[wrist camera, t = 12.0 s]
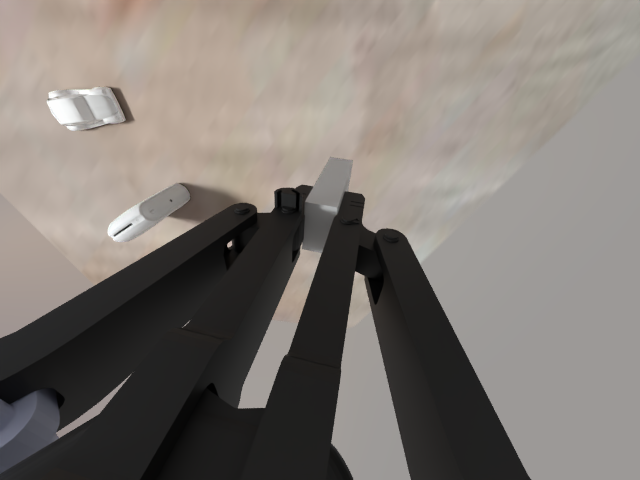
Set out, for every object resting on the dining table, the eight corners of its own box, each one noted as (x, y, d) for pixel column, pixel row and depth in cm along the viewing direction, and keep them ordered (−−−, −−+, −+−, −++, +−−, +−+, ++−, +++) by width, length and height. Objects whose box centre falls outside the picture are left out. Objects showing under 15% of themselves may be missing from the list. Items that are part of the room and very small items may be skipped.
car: (77, 130, 46) (50, 135, 42) (54, 91, 42) (23, 92, 39) (133, 124, 43) (110, 128, 40) (113, 81, 40) (86, 82, 36)
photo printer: (179, 178, 47) (128, 206, 37) (195, 197, 49) (150, 229, 39) (147, 201, 51) (93, 232, 41) (163, 217, 53) (115, 251, 43)
